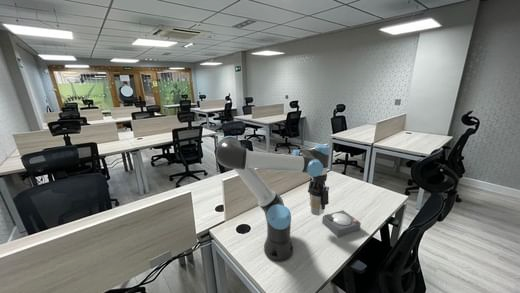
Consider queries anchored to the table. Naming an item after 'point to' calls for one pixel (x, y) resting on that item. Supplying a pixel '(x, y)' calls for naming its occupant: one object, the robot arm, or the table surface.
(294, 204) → the table surface
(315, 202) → the coffee cup
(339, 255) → the table surface
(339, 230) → the grey dome button box
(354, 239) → the table surface
